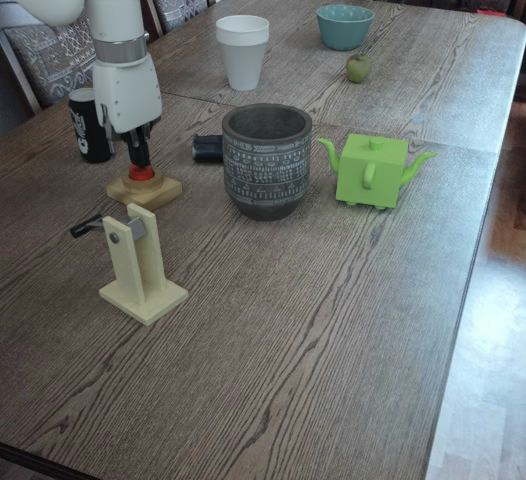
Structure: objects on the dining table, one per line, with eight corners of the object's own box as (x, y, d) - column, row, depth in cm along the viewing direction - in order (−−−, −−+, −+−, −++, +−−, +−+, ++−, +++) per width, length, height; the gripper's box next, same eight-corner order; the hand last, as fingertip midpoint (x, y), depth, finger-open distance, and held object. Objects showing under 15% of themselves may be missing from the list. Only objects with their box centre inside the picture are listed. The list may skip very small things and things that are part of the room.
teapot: (425, 205, 96) (440, 146, 88) (367, 228, 91) (376, 168, 83) (368, 169, 105) (376, 113, 97) (312, 188, 100) (316, 131, 92)
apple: (367, 74, 139) (371, 48, 135) (369, 86, 134) (373, 60, 130) (343, 73, 140) (346, 48, 136) (344, 85, 134) (347, 59, 130)
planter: (209, 213, 94) (202, 127, 83) (253, 177, 103) (252, 95, 92) (280, 238, 89) (283, 150, 78) (321, 199, 97) (328, 114, 87)
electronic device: (194, 175, 106) (271, 163, 105) (188, 146, 103) (267, 134, 101) (198, 158, 113) (270, 147, 112) (192, 131, 110) (266, 119, 109)
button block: (107, 195, 98) (102, 175, 95) (145, 176, 103) (141, 156, 100) (145, 215, 94) (141, 194, 91) (182, 194, 98) (180, 173, 96)
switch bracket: (100, 296, 79) (78, 215, 69) (142, 270, 83) (126, 190, 74) (147, 327, 74) (130, 245, 65) (189, 297, 79) (179, 216, 69)
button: (125, 177, 95) (123, 167, 94) (143, 168, 98) (141, 159, 96) (141, 184, 94) (139, 175, 92) (158, 175, 96) (157, 166, 95)
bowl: (372, 38, 159) (377, 6, 153) (367, 57, 148) (371, 22, 142) (319, 34, 161) (321, 2, 155) (309, 52, 150) (311, 18, 145)
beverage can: (74, 158, 108) (58, 95, 99) (99, 145, 111) (85, 84, 103) (98, 167, 105) (83, 103, 97) (122, 154, 109) (110, 92, 100)
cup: (252, 99, 128) (252, 34, 118) (208, 89, 132) (204, 25, 123) (277, 82, 136) (279, 19, 126) (235, 72, 140) (233, 11, 130)
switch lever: (74, 241, 78) (66, 225, 76) (102, 226, 80) (95, 210, 79) (125, 246, 69) (118, 228, 68) (155, 229, 71) (148, 211, 70)
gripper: (141, 30, 87) (158, 142, 100) (63, 56, 79) (92, 174, 92) (175, 40, 83) (187, 155, 96) (96, 68, 75) (121, 189, 88)
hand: (141, 164), depth 94 cm, fingers closed
